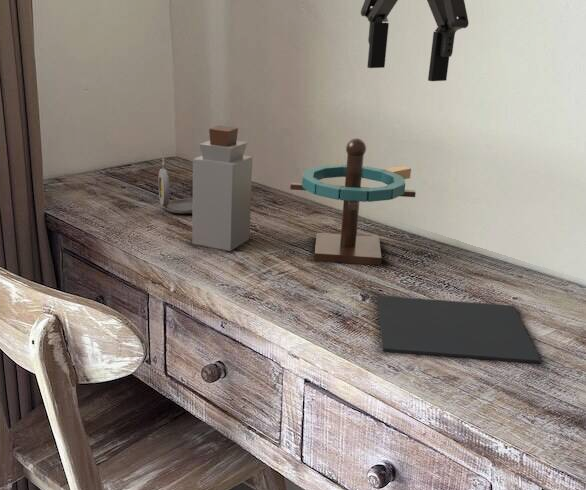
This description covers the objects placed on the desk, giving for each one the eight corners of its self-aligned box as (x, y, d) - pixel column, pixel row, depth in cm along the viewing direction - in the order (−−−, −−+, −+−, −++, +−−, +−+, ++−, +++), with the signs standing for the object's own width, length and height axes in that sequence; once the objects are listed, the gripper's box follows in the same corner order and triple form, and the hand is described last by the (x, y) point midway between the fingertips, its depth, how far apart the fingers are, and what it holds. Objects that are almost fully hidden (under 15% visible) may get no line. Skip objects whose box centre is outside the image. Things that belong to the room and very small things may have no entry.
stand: (403, 237, 135) (415, 129, 128) (412, 278, 117) (427, 156, 111) (290, 229, 136) (296, 122, 130) (283, 268, 119) (289, 148, 112)
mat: (513, 308, 108) (513, 305, 108) (540, 363, 94) (540, 360, 93) (377, 298, 110) (377, 295, 110) (382, 351, 95) (383, 348, 95)
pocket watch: (210, 210, 145) (211, 155, 141) (175, 220, 139) (175, 162, 135) (178, 200, 150) (178, 147, 146) (143, 209, 144) (142, 153, 140)
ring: (409, 176, 131) (410, 166, 130) (418, 205, 115) (419, 194, 115) (305, 169, 132) (305, 160, 132) (300, 197, 117) (300, 187, 116)
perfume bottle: (212, 231, 134) (214, 122, 127) (249, 238, 131) (253, 127, 124) (192, 243, 128) (193, 129, 121) (230, 251, 125) (233, 134, 119)
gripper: (345, -86, 118) (334, 63, 126) (467, -90, 99) (445, 87, 107) (385, -83, 122) (372, 62, 130) (511, -86, 102) (486, 85, 110)
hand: (405, 74), depth 118 cm, fingers open, 13 cm apart
